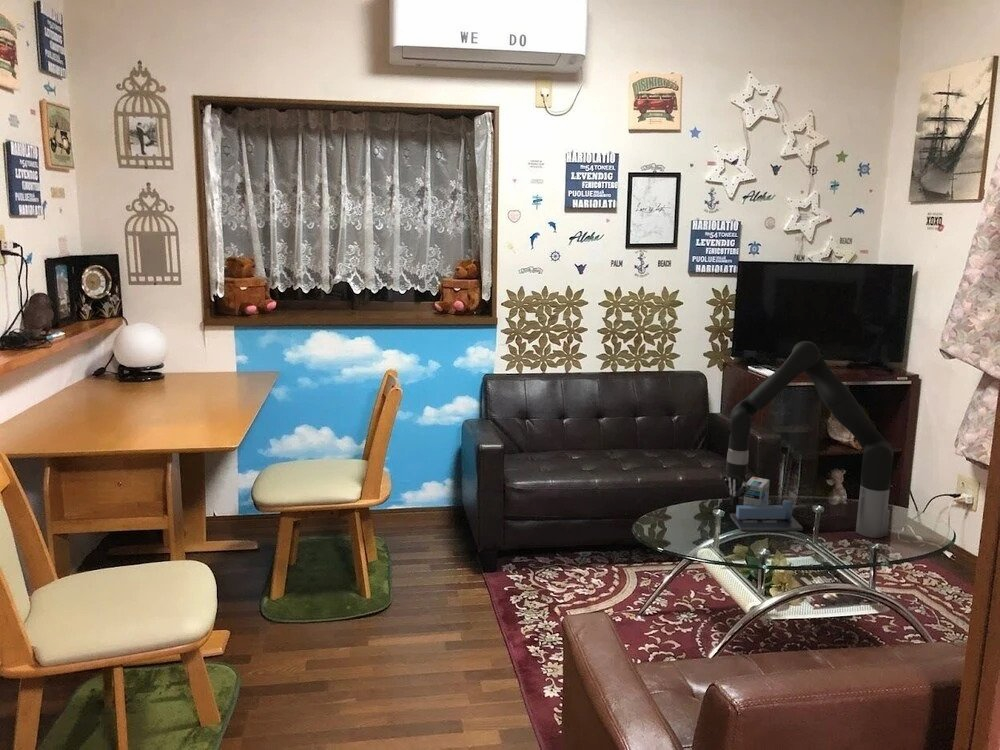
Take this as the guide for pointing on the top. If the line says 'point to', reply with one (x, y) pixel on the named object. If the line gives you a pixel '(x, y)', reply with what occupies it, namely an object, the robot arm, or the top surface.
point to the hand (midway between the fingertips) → (734, 504)
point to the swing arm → (765, 511)
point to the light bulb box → (757, 492)
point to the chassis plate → (767, 524)
